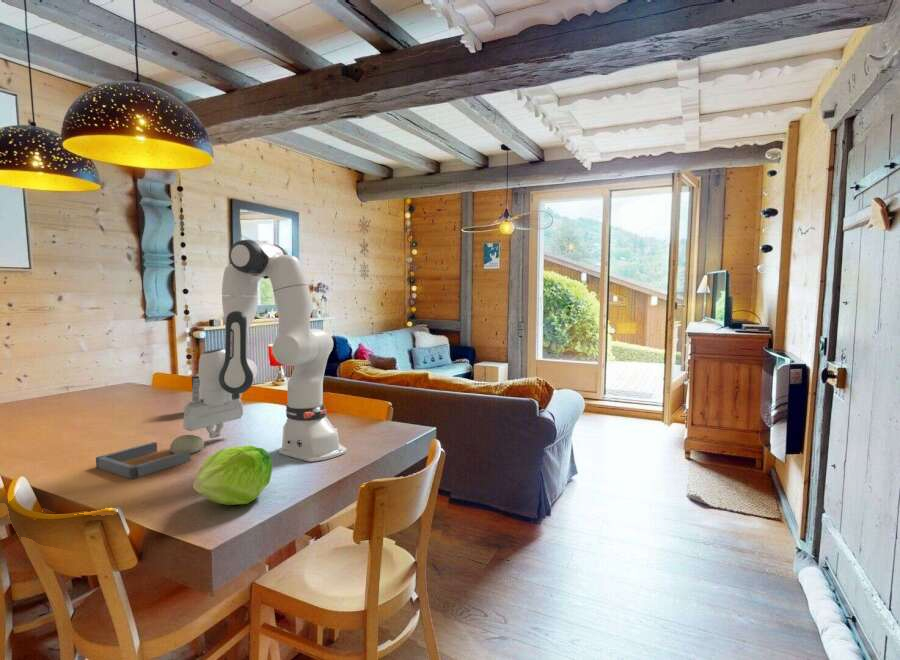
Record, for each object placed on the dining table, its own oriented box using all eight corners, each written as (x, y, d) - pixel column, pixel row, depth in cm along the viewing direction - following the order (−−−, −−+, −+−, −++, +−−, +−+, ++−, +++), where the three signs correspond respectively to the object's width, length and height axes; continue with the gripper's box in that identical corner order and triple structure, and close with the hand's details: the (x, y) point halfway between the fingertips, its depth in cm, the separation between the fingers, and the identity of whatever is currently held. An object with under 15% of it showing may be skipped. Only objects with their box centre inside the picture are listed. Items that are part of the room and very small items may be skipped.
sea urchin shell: (194, 438, 158) (202, 424, 154) (202, 458, 155) (210, 445, 151) (163, 444, 151) (170, 430, 147) (171, 466, 148) (178, 452, 143)
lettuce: (175, 516, 108) (173, 455, 110) (249, 497, 125) (246, 444, 128) (217, 514, 101) (214, 449, 103) (289, 494, 119) (285, 439, 121)
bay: (154, 450, 150) (153, 441, 150) (190, 460, 142) (189, 450, 142) (96, 467, 136) (95, 457, 136) (132, 479, 128) (132, 468, 127)
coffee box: (196, 410, 203) (195, 372, 201) (213, 409, 205) (212, 372, 203) (192, 415, 194) (191, 376, 193) (209, 414, 196) (208, 376, 195)
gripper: (190, 404, 148) (191, 447, 149) (245, 392, 166) (246, 431, 167) (178, 401, 151) (179, 444, 152) (233, 390, 169) (234, 428, 170)
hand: (214, 437), depth 160 cm, fingers closed
